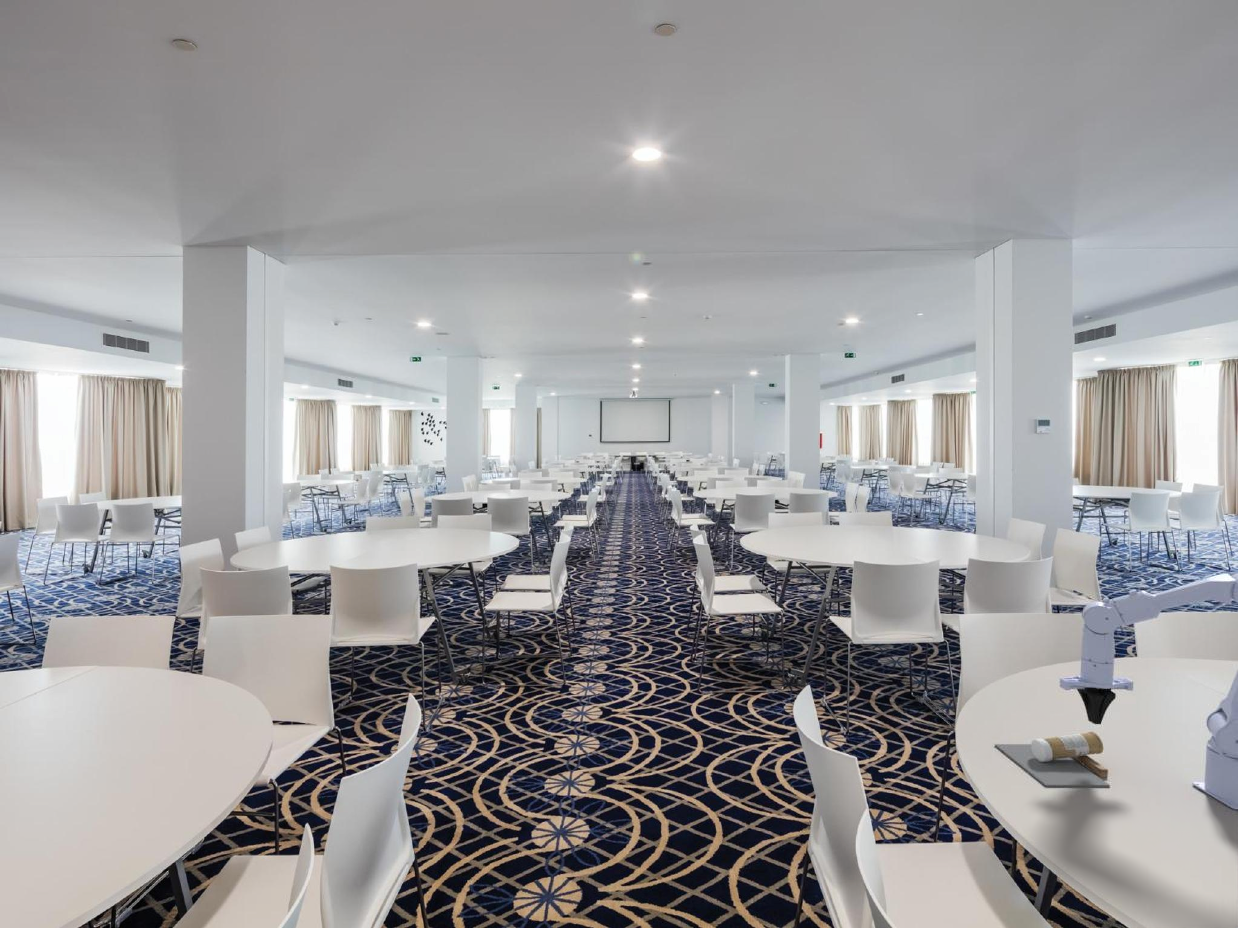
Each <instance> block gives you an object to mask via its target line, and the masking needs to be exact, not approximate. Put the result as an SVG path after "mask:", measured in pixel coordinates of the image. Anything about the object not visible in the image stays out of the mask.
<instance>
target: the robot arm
mask: <svg viewBox="0 0 1238 928" xmlns="http://www.w3.org/2000/svg"><path fill="white" fill-rule="evenodd" d="M1102 600H1103V601H1091V602H1089V603H1087V604H1086V605H1085V606H1084V608H1083V609H1082V611H1081V617H1082V619H1083V622H1084V624H1083V628H1082V633H1083V634H1082V636H1081V653H1080V654H1081V658H1080V673H1079V675H1075V676H1068V677H1060V678H1059V688H1061V689H1063V690H1064V691H1071V690H1076V691H1077V692H1078V693H1079V696H1080V697H1081V700H1082V702H1083V705H1084V707H1085V712H1086V715H1087V720H1088V721H1089V722H1090V723H1092V724H1094V725H1102V721H1103V719H1104V716H1105V714H1106V712H1107V709H1109V706H1110V705H1111V704H1112V702H1113V701H1114V700H1115V699H1116V698H1117V697H1116V695H1117V694H1116V693H1115V692H1113V691H1112V690H1126V691H1128V692H1129V691H1130V692H1131V691H1132V692H1133V691H1134V681H1132V680H1131V679H1128V678H1123V677H1122V678H1121V677H1120V678H1119V677H1114V671H1115V670H1114V669H1115V668H1114V667H1115V650H1116V649H1115V648H1116V647H1115V645H1116V642H1115V641H1116V640H1115V639H1114V637H1115V636H1114V635H1115V631H1116V629H1117V628H1118V626H1120V627H1125V626H1130V625H1132V624H1138V623H1141V622H1145V621H1149V620H1153V619H1157V618H1158V617H1159V616H1160V614H1161V612H1162V610H1167V609H1168V610H1169V609H1172V608H1176V607H1180V606H1186V605H1190V604H1195V603H1199V602H1204V601H1214V602H1219V603H1223V604H1226V605H1232V600H1233V601H1234V602H1235V603H1237V604H1238V570H1237V571H1234V572H1231V573H1230V574H1228V573H1221V574H1220V573H1219V574H1217V575H1213V576H1210V577H1207V578H1203V579H1199V580H1197V581H1193V582H1190V583H1186V584H1184V585H1181V586H1180V585H1179V586H1177V587H1174V588H1170V589H1167V590H1164V591H1160V592H1158V593H1150V592H1148V591H1145V590H1139V591H1137V589H1131V590H1129V591H1128V594H1126V595H1122V596H1117V597H1114V598H1111V599H1110V598H1109V597H1105V598H1103V599H1102ZM1233 678H1234V679H1233V681H1232V683H1231V685H1230V689H1229V691H1228V693H1227V695H1226V697H1225V698H1224V699H1222V700H1221V701H1220V702H1219V705H1218V706H1217V708H1216V709H1215V710H1214V711H1212V712H1211V713H1209V714H1208V716H1207V718H1206V721H1205V722H1206V727H1207V729H1208V731H1209V733H1210V734H1211V735H1212V736H1211V737H1210V738H1209V740H1207V742H1206V747H1205V748H1206V750H1205V751H1206V752H1205V769H1204V770H1205V771H1204V781H1193V782H1191V785H1193V786H1194V787H1196V788H1198V789H1199V790H1200V791H1203V792H1204V793H1206V794H1207V795H1210V796H1211V797H1212V798H1214V799H1216V800H1218V801H1219V802H1221V803H1223V804H1224V805H1226V806H1228V807H1229V808H1231V809H1233V810H1238V670H1237V671H1236V673H1235V676H1234V677H1233Z"/></svg>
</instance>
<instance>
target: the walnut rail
mask: <svg viewBox="0 0 1238 928" xmlns="http://www.w3.org/2000/svg"><path fill="white" fill-rule="evenodd" d="M1072 759H1073V760H1075V759H1076V760H1078V761H1079V762H1081V763H1083V764H1084V765H1085V766H1087V767H1088V768H1089V769H1091V770H1092V771H1094V772H1095V773H1096V774H1095V773H1094V772H1093V773H1094V774H1095V775H1097V774H1098V775H1099V776H1098V775H1097V776H1098V777H1099V778H1108V777H1109V776H1108V775H1109V770H1108V768H1107V767H1104V766H1103V765H1102V764H1101V763H1099V762H1097V761H1095V759H1093V758H1091V757H1090V756H1088V755H1085V756H1077V757H1073V758H1072ZM1076 760H1075V761H1076ZM1078 761H1077V762H1078ZM1079 762H1078V763H1079ZM1081 763H1080V764H1081ZM1084 765H1083V766H1084ZM1085 766H1084V767H1085ZM1087 767H1086V768H1087ZM1088 768H1087V769H1088ZM1089 769H1088V770H1089ZM1091 770H1090V771H1091ZM1092 771H1091V772H1092Z"/></svg>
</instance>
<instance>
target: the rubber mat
mask: <svg viewBox="0 0 1238 928" xmlns="http://www.w3.org/2000/svg"><path fill="white" fill-rule="evenodd" d="M994 747H996V748H997V750H999V751H1000V752H1002V753H1003V754H1004V755H1006V756H1007V757H1008V758H1009V759H1010V760H1011V761H1013V762H1014V763H1015V764H1017V766H1019V767H1020V768H1021V769H1022V770H1024V771H1026V772H1027V773H1028V774H1029V775H1030V776H1032V777H1033V778H1034V779H1035V780H1037V781H1038V782H1039V783H1040V784H1042V785H1043V786H1044V787H1046V788H1110V786H1111V785H1110V784H1109V783H1107V782H1106V781H1105V780H1103V779H1102V778H1101V777H1100V776H1098V775H1097V774H1095V773H1094V772H1092V771H1091V770H1089V769H1088V768H1087V767H1085V766H1084V765H1082V764H1081V763H1079V762H1078V761H1076V760H1075V759H1074V758H1072V757H1070V758H1061V759H1054V760H1051V761H1047V762H1041V761H1039V760H1038V759H1037V758H1036V757H1035V756H1034V754H1033V752H1032V748H1031V744H1027V743H1025V744H1022V743H1021V744H1020V743H1018V744H1017V743H1016V744H1015V743H1011V744H1010V743H1006V744H1005V743H997V744H996V743H995V744H994Z"/></svg>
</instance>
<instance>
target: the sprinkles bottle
mask: <svg viewBox="0 0 1238 928" xmlns="http://www.w3.org/2000/svg"><path fill="white" fill-rule="evenodd" d="M1031 748H1032V752H1033V754H1034V756H1035V757H1036V758H1037V759H1038V760H1039V761H1041V762H1047V761H1051V760H1054V759H1061V758H1072V757H1077V756H1085V755H1087V756H1088V755H1100V754H1103V751H1104V743H1103V741H1102V739H1101V738H1100V736H1099V735H1098V734H1097V733H1096V732H1093V731H1088V732H1086V733H1074V734H1067V735H1061V736H1054V737H1049V738H1036V739H1033V740H1032V741H1031Z"/></svg>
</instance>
